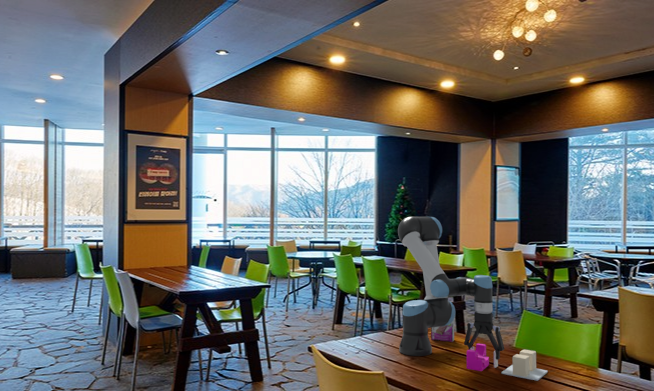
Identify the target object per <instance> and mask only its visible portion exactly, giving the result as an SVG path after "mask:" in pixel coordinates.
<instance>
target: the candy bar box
mask: <svg viewBox="0 0 654 391" xmlns="http://www.w3.org/2000/svg"><path fill="white" fill-rule="evenodd" d="M430 333H431V334H430V336H431V338H430V340H432V341H439V340H440V341H442V342H448V343H449V342H450V343H453V342H454V341H455V319H454V320H453V322H452V323H451V324H449V325H446V326H442V327H441V326H440V327H432V328H430Z"/></svg>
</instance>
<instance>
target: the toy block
mask: <svg viewBox="0 0 654 391" xmlns="http://www.w3.org/2000/svg"><path fill="white" fill-rule="evenodd" d="M489 365H490V356H487V344H485V343H479V342H478V343H475V350H468V349H467V350H466V370H467V369H468V370H473V371H477V372H482V371H484V370H485V369H486V368H487V367H488V366H489Z"/></svg>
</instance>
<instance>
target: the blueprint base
mask: <svg viewBox="0 0 654 391" xmlns="http://www.w3.org/2000/svg"><path fill="white" fill-rule="evenodd" d="M547 373H549V372H548V370H546V369H541V368H537V352H536V350H530V349H522V350H521V351H519V354H518V353H516V354H514V355H513V356H512V364H511V365H510V366H508V367H507V368H506V369H503V371H501V374H502V375H505V376H506V375H507V376H511V377H512V376H513V377H517V378H520V379H521V378H522V379H527V380H532V381H533V380H534V381H539V380H540V379H542V378H543V377H544V376H545V375H546V374H547Z"/></svg>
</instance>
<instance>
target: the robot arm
mask: <svg viewBox="0 0 654 391" xmlns="http://www.w3.org/2000/svg"><path fill="white" fill-rule="evenodd" d="M397 234H398V238H399V240H400V242H401V244H402V245H403V246H404V247H407V249H408V250H409V252H410V253H411V255H412V257H413V258H414V259H415V261H416V263H417V264H418V266H419V267H420V269H421V270H422V274H423V283H424V288H425V297H424V299H417V300H416V299H415V300H409V301H407V302H405V303H403V305H402V337H401V340H400V342H399V347H398V348H399V349H398V351H399V353H400V354H403V355H407V356H414V357H415V356H416V357H422V356H429V355H432V353H433V347H432V345H431V341H430V338H429V328H430V329H431V328H432V327H440V326H441V327H442V326H446V325H449V324H451V323H452V322H453V320H454V321H455V317H456V308H455V305H454V304H453V302H451V301H449V297H458V296H459V297H461V296H471V297H473V302H474V303H473V308H474V312H473V313H474V314H473V316H474V319H473V320H474V321H473V322H468V323H467V324H466V325H467V330H466V334H465V338H464V342H463V345H464V346H467V347H468V349H467V350H476V346H474V344H475V343H476V340H477V338H478V337H479V335H481V334H483V335H487V336H486V337H488V339H489V341H490V344H492V347H493V349H494V351H493V368H497V367H499V360H500V358H501V352H503V351H504V350H505V345H504V342H503V338H502V334H501V326H496V325H494V323H493V322H494V320H493V319H494V318H493V313H492V312H493V310H494V309H493V287H494V286H493V279H492V277H491V276H490V275H483V274H477V275H474V277H473V278H469V277H464V276H459V277H456V278H449V277H448V276H447V274H446V273H445V272H444V270H443V268H442V267H441V266H440V259H439V254H438V253H439V251H438V247H437V246H438V244H439V242H440V238H441V237H442V234H443V226H442V224H441V222H440V220H438V219H437V218H436V217H434V216H408V217H404V218H403V219H402V220H401V221H400V222H399V224H398V228H397ZM473 328H475V331H474V334H473V335H472V332H473V331H472V330H473ZM492 330H493V331H494V333H495V336H494V333H493V332H492ZM471 335H472V337H471Z"/></svg>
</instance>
